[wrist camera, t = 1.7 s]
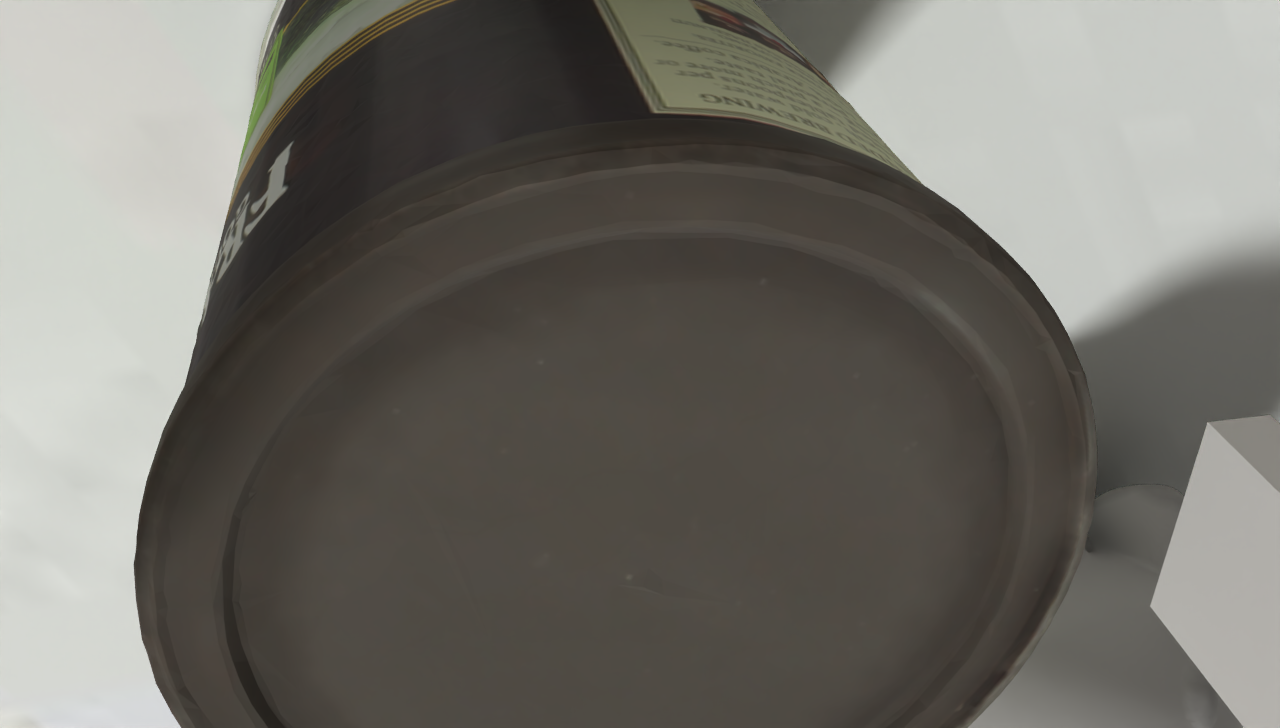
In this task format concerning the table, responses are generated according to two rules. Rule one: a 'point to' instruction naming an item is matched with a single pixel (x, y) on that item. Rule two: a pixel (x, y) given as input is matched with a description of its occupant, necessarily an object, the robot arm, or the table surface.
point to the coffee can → (599, 395)
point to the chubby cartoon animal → (1113, 635)
